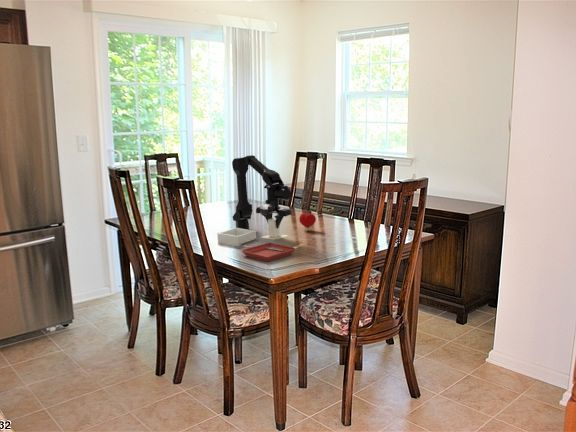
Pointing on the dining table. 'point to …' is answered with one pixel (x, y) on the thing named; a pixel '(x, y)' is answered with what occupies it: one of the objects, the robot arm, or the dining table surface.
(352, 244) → the dining table surface
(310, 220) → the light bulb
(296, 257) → the dining table surface
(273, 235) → the strut
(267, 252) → the plant saucer
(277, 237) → the stud base
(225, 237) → the grey bin
